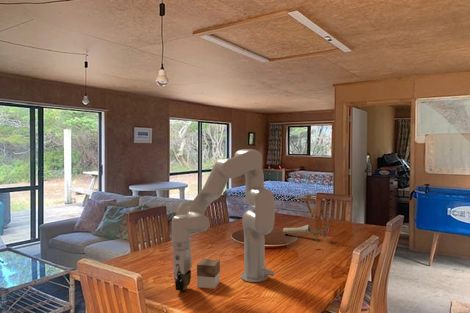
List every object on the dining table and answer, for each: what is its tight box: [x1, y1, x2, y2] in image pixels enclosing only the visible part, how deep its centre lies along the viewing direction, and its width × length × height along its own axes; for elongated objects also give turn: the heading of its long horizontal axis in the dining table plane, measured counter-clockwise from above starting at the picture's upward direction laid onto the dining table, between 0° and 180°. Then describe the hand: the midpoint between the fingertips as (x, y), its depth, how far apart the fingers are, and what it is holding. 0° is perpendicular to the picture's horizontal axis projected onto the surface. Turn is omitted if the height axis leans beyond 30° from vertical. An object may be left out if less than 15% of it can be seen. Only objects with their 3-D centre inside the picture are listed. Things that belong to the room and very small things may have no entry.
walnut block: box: [196, 258, 221, 278], centre depth 153 cm, size 8×8×5 cm
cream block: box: [196, 271, 221, 290], centre depth 153 cm, size 8×8×5 cm
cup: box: [173, 269, 192, 292], centre depth 146 cm, size 8×7×8 cm
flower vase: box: [282, 224, 332, 243], centre depth 229 cm, size 12×12×35 cm
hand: (182, 286), depth 146 cm, fingers closed on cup, 6 cm apart
